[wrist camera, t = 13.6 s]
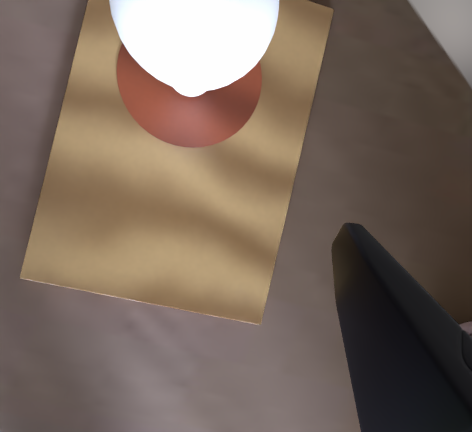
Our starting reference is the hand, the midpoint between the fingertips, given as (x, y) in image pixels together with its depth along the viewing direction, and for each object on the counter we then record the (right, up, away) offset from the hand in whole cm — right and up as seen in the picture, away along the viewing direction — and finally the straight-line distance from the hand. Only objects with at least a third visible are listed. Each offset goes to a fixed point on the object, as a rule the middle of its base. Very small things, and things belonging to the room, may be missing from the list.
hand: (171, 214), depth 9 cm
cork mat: (-1, +5, +13) cm, 14 cm away
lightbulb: (-1, +8, +12) cm, 15 cm away
